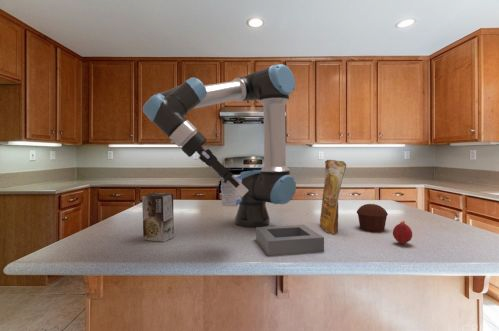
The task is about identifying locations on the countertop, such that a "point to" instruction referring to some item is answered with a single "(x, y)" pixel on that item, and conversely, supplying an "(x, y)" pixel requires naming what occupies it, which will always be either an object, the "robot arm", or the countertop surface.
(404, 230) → the red rounded lump
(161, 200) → the coffee box
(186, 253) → the countertop surface
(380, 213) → the muffin
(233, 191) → the medicine box
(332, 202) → the pancake mix bag
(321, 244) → the frame
